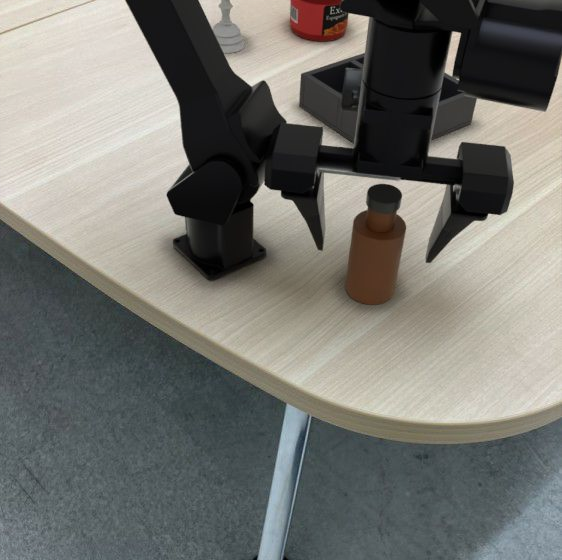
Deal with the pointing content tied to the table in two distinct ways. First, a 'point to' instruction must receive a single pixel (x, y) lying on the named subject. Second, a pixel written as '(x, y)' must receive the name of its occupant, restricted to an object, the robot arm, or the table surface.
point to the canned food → (318, 19)
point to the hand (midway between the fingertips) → (374, 253)
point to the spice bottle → (376, 247)
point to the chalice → (228, 31)
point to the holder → (327, 108)
